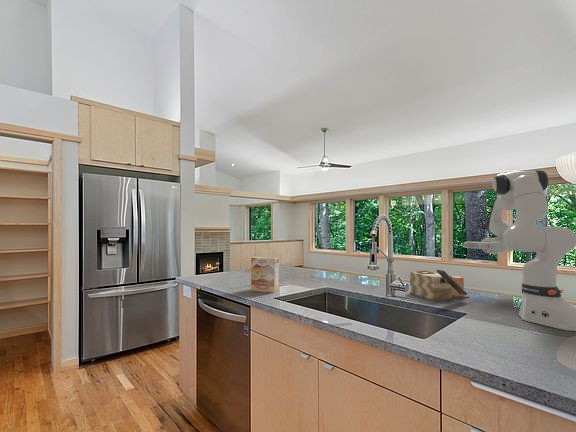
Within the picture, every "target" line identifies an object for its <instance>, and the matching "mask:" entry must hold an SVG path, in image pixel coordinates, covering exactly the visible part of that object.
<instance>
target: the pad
mask: <svg viewBox="0 0 576 432" xmlns="http://www.w3.org/2000/svg"><path fill="white" fill-rule="evenodd" d="M469 297H470V296H469V295H464V296H457V297H456V296H453V295H452V299H456V300H457V299H458V298H460V299H469Z"/></svg>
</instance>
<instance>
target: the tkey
mask: <svg viewBox="0 0 576 432" xmlns="http://www.w3.org/2000/svg"><path fill="white" fill-rule="evenodd" d="M436 273H439V274H440V275H441V276H442V277H443V278H444V279H443V280H442V282H445V283H449V284H450V285H451V286H452V287H453V288H454V289H455V290H456V291H457V292H458V293H459V294H463V295H466V296H468V293H467V292H466V291H465V289H464V290H463V289H462V288H461V287H460V286H459V285H458V284H457V283H456V282H455V281H454V280H453V279H452V278H451V277H450V276H451V275H449V274H448V273H447V272H446V271H445V270H440V269H436Z"/></svg>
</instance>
